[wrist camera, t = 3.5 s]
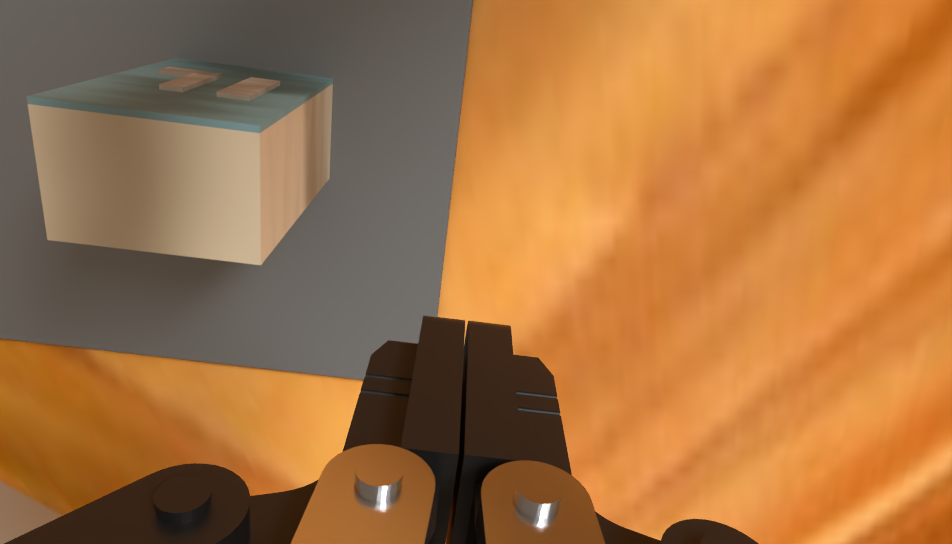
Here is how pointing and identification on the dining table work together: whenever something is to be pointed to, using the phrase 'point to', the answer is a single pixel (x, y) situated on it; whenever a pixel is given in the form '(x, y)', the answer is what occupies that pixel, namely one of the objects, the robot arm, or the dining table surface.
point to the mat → (312, 235)
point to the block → (182, 158)
